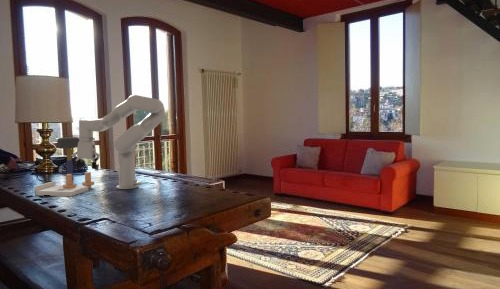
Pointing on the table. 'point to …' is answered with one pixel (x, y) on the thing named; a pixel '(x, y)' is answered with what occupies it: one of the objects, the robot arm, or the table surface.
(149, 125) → the robot arm
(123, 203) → the table surface
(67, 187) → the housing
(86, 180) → the dome with square post
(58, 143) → the rubber mallet
